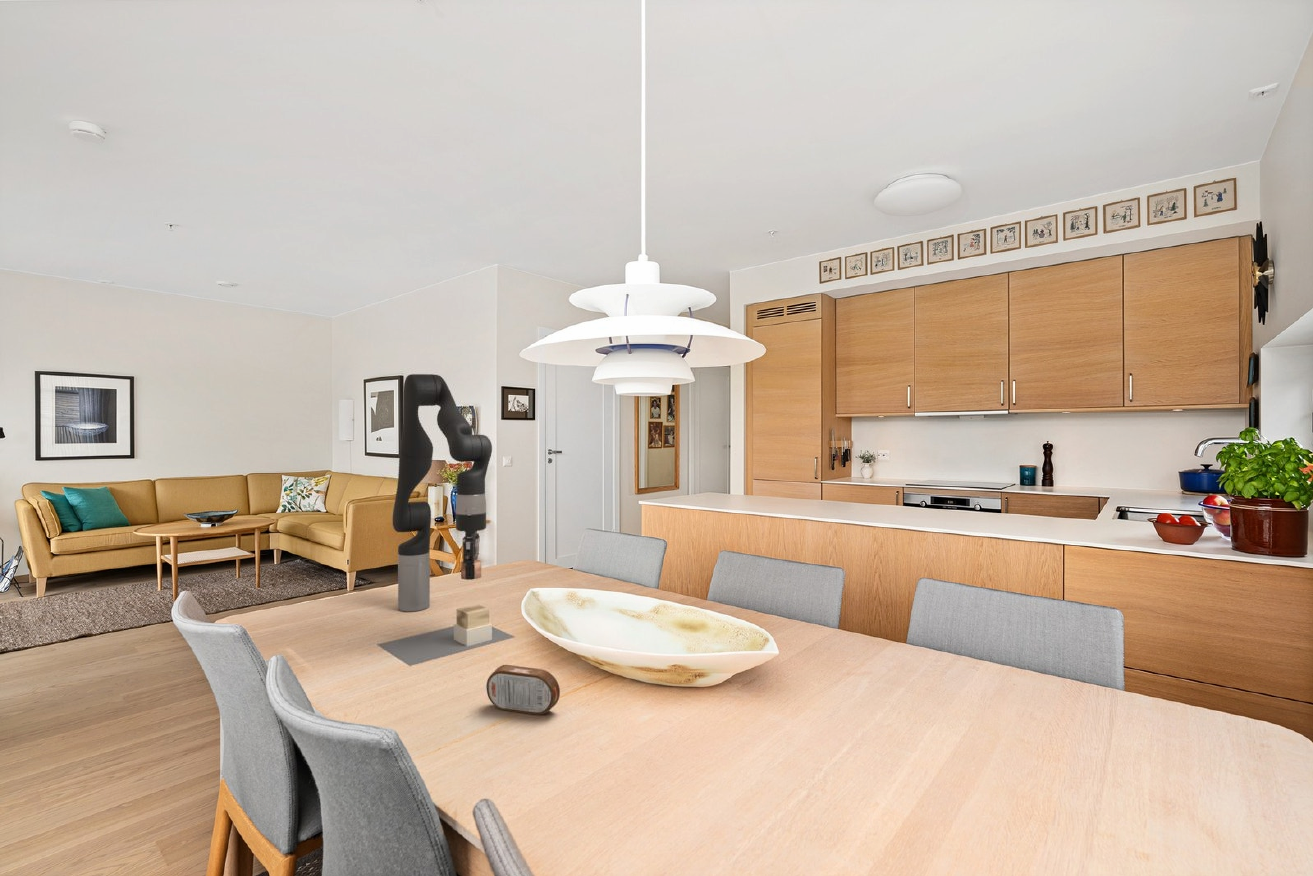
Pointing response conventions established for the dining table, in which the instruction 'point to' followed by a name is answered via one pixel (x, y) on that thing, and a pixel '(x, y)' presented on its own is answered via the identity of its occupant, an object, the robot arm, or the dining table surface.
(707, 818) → the dining table surface
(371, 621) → the dining table surface
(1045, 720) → the dining table surface
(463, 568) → the terracotta cylinder
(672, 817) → the dining table surface
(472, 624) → the tower top block
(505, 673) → the tin
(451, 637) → the mat
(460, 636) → the tower base block
